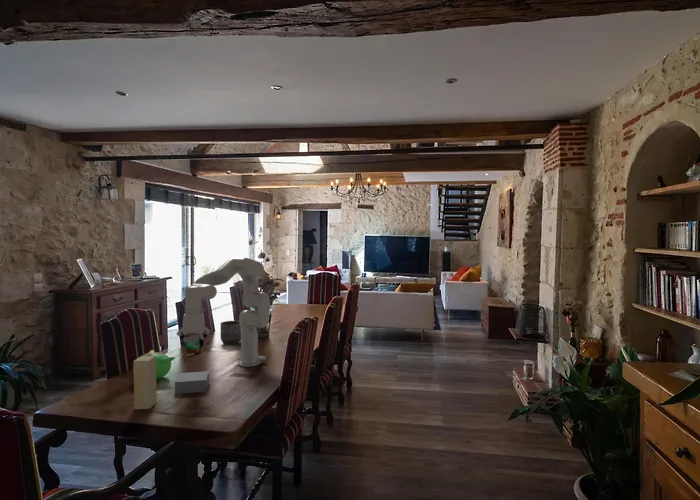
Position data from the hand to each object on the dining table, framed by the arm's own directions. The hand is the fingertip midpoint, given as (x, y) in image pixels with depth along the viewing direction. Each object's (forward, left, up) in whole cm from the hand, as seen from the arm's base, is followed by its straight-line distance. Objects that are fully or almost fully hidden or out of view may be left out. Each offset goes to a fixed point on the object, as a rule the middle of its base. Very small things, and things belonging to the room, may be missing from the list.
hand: (193, 347), depth 210 cm
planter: (-21, -86, -20) cm, 91 cm away
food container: (-2, 0, -3) cm, 4 cm away
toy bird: (+21, -19, -20) cm, 34 cm away
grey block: (+1, 0, -20) cm, 20 cm away
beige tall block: (+20, +18, -20) cm, 33 cm away
